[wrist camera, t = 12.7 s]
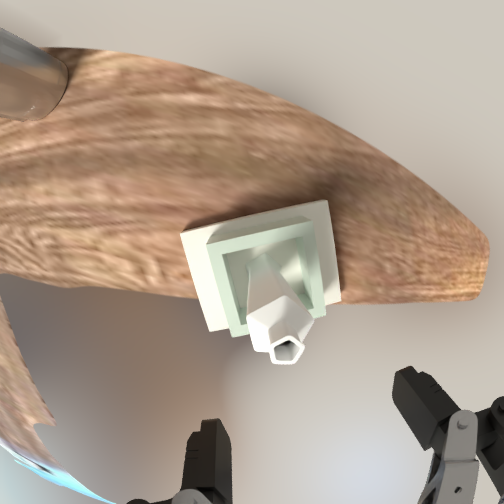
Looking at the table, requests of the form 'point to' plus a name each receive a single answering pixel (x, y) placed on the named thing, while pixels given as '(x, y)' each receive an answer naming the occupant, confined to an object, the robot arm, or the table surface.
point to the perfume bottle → (275, 312)
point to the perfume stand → (253, 245)
